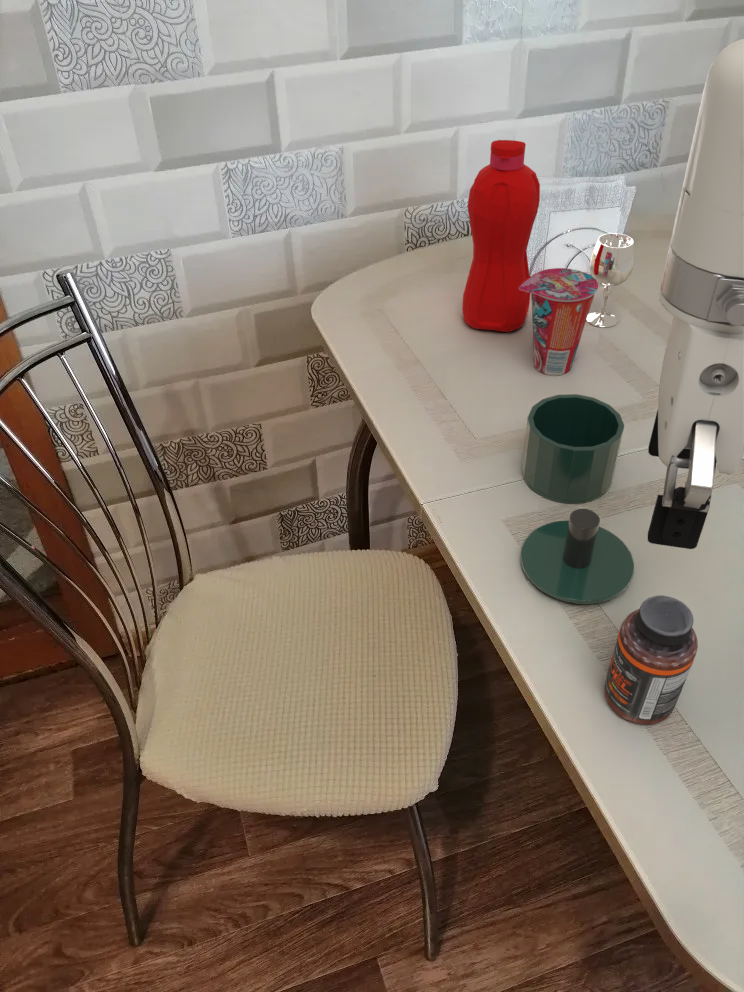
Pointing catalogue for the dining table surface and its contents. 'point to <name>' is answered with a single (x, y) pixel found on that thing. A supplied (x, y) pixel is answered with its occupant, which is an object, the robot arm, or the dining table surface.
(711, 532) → the dining table surface
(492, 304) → the water bottle
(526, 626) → the dining table surface
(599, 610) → the dining table surface
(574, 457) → the pot
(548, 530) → the lid
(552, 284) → the cup
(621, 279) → the wineglass
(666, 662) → the supplement bottle
